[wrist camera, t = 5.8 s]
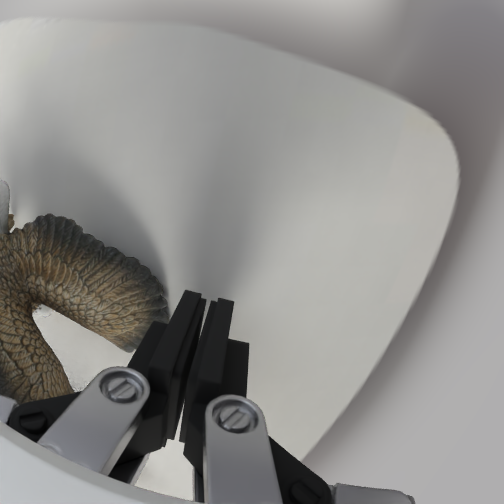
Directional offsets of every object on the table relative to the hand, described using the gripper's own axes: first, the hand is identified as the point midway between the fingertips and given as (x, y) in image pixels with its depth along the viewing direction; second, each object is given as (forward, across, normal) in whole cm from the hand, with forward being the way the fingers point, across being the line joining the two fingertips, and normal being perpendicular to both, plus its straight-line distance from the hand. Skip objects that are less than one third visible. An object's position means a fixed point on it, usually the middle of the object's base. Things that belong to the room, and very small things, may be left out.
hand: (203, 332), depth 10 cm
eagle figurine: (+1, +6, 0) cm, 6 cm away
